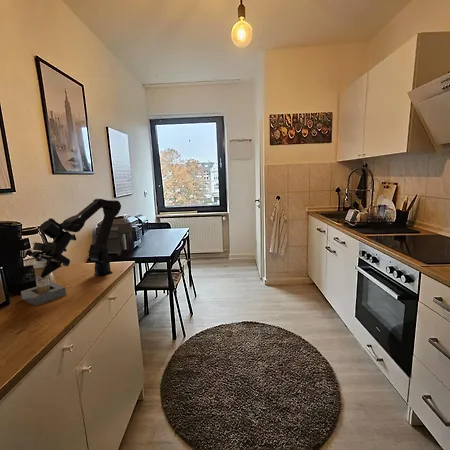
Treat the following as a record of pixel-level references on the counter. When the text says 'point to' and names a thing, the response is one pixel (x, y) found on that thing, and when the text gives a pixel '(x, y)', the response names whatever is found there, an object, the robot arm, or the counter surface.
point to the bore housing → (43, 294)
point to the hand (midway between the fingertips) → (38, 276)
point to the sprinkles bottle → (41, 282)
